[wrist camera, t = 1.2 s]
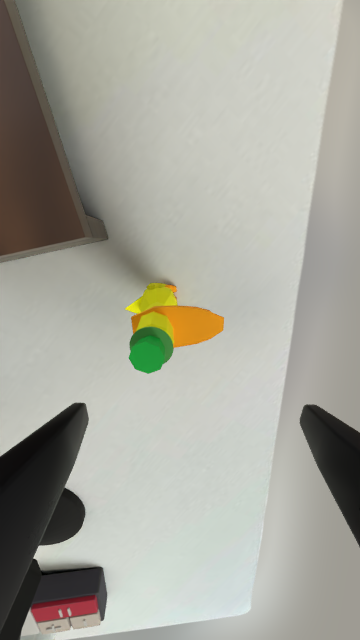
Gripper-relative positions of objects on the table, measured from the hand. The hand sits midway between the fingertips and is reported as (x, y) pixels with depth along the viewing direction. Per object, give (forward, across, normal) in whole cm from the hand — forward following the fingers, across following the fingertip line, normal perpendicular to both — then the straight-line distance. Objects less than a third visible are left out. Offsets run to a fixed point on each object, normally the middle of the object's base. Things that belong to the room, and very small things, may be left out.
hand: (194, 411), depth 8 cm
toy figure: (+13, +2, -2) cm, 14 cm away
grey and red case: (+11, +22, +54) cm, 59 cm away
